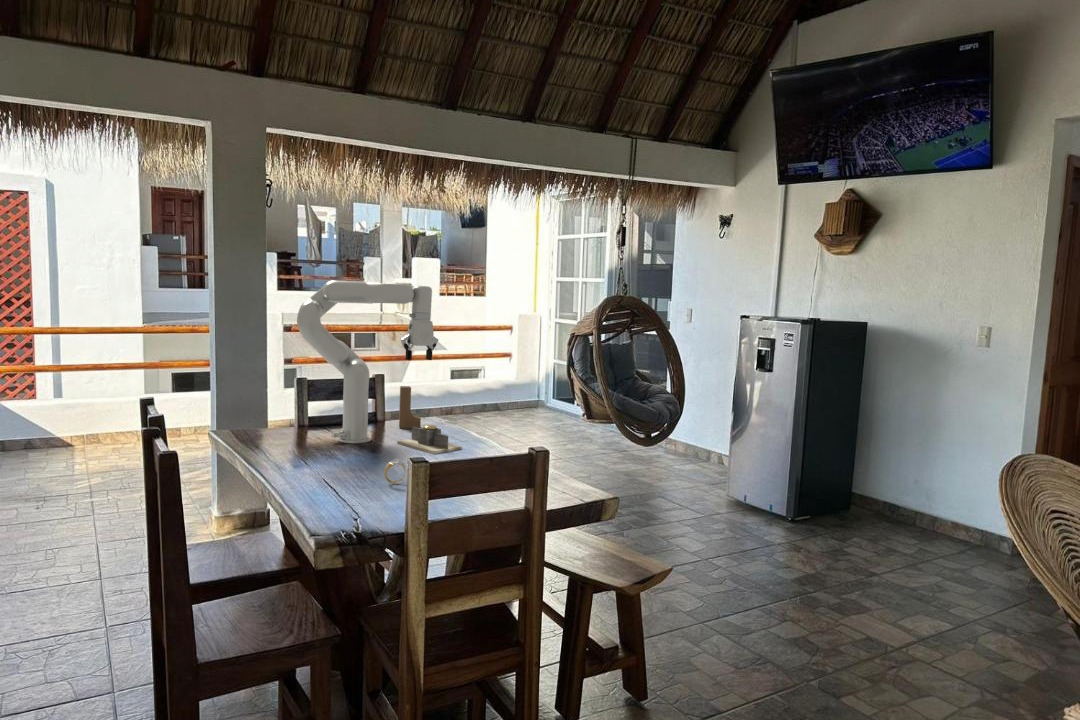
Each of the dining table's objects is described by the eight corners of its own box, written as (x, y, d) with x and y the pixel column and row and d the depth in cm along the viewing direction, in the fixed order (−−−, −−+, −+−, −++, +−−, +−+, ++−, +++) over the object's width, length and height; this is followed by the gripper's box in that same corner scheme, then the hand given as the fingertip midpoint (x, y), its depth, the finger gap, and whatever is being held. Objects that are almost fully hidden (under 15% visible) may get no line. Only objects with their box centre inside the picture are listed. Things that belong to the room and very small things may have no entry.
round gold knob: (428, 443, 278) (428, 427, 277) (419, 440, 281) (420, 425, 280) (438, 441, 281) (439, 426, 281) (430, 439, 285) (430, 424, 284)
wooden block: (419, 426, 318) (421, 386, 317) (420, 428, 314) (421, 387, 312) (398, 426, 316) (400, 386, 314) (399, 428, 312) (400, 387, 310)
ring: (406, 482, 229) (406, 457, 229) (407, 485, 226) (407, 460, 226) (383, 482, 228) (384, 457, 227) (384, 485, 225) (384, 460, 224)
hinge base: (433, 454, 269) (433, 435, 268) (397, 443, 283) (397, 425, 283) (461, 449, 279) (462, 431, 279) (425, 439, 294) (425, 422, 293)
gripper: (408, 317, 279) (405, 361, 280) (444, 318, 291) (442, 360, 292) (397, 315, 284) (395, 359, 286) (433, 316, 296) (431, 358, 298)
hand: (418, 359), depth 289 cm, fingers open, 9 cm apart
